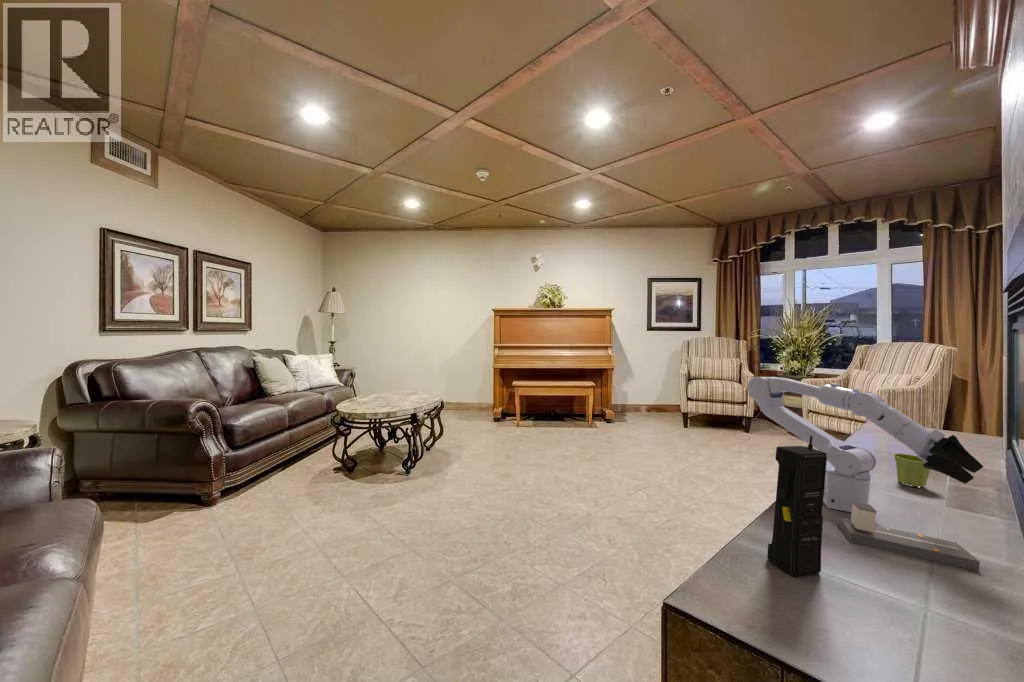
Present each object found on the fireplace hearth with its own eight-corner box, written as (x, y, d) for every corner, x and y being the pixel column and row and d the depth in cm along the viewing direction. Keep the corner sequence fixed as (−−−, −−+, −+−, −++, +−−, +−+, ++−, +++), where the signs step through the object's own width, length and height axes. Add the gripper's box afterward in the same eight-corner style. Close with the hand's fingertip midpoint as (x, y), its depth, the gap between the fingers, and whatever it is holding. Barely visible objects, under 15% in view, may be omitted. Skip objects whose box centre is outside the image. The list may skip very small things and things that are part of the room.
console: (850, 541, 86) (851, 532, 86) (838, 526, 94) (839, 517, 94) (978, 571, 78) (979, 560, 78) (955, 551, 85) (956, 541, 85)
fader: (856, 529, 87) (858, 508, 87) (850, 521, 91) (852, 501, 91) (874, 533, 86) (876, 511, 86) (867, 524, 90) (869, 504, 90)
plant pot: (883, 479, 129) (885, 453, 128) (902, 478, 132) (904, 452, 131) (920, 491, 120) (923, 463, 119) (939, 489, 123) (942, 462, 122)
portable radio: (790, 579, 71) (803, 443, 70) (761, 560, 77) (772, 433, 76) (823, 575, 73) (835, 442, 72) (792, 556, 79) (803, 433, 78)
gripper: (924, 406, 90) (1000, 452, 80) (914, 431, 100) (981, 474, 90) (897, 425, 91) (970, 473, 81) (890, 448, 101) (954, 493, 91)
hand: (974, 475), depth 85 cm, fingers open, 7 cm apart
